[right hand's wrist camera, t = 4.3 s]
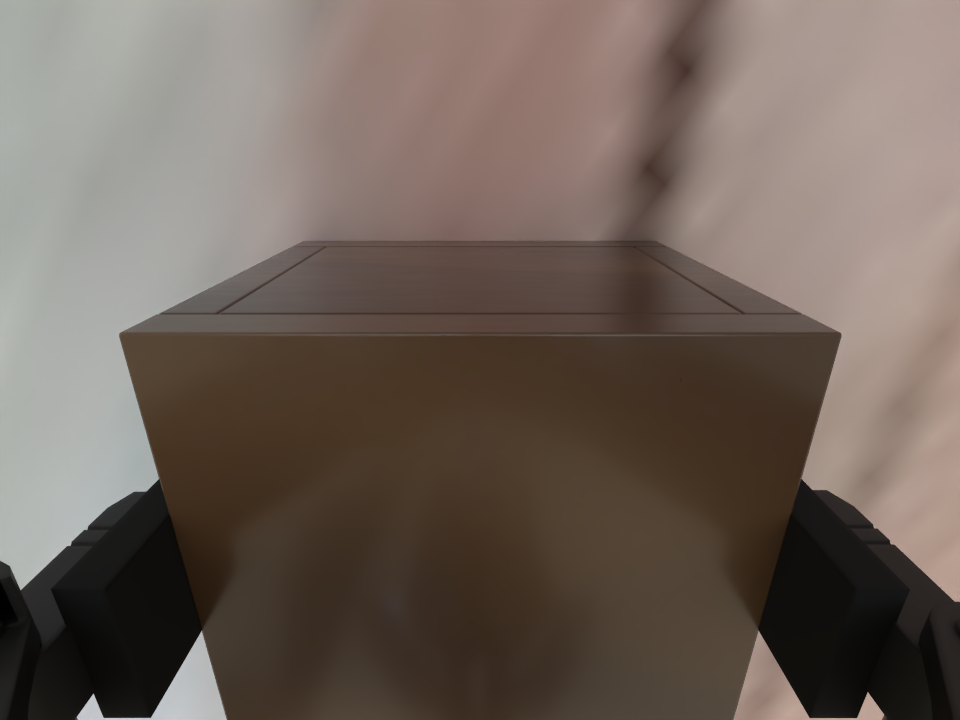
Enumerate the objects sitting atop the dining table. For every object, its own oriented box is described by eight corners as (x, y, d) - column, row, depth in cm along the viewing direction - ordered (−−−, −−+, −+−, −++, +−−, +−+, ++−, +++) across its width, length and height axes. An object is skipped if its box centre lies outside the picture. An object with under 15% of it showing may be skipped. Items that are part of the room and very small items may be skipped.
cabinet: (606, 633, 21) (680, 910, 13) (352, 633, 21) (279, 910, 13) (657, 240, 15) (844, 333, 7) (301, 241, 15) (116, 333, 7)
